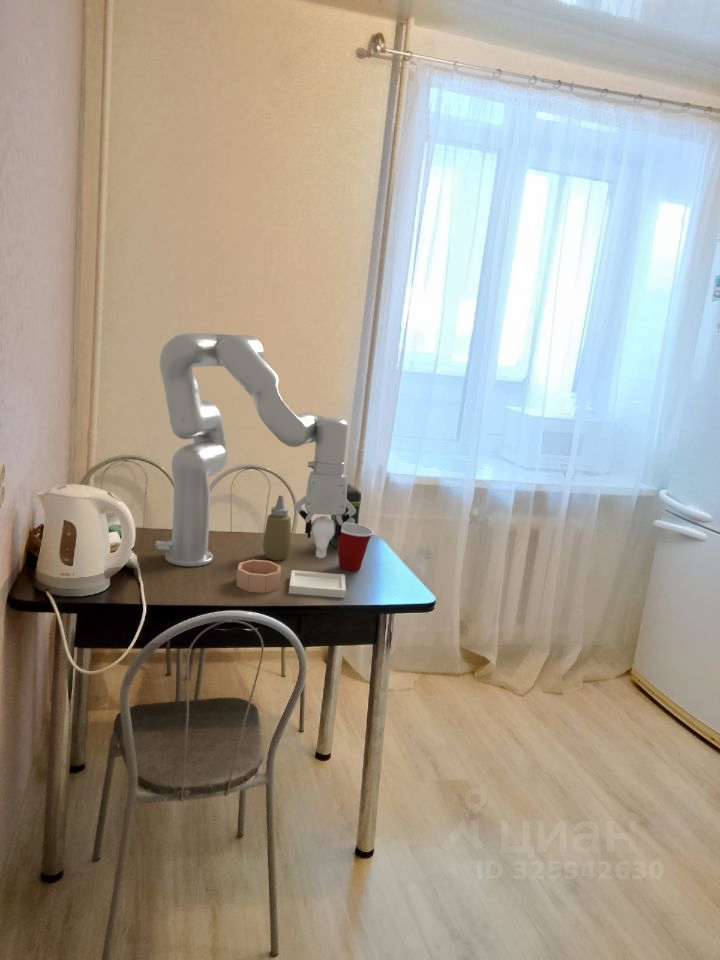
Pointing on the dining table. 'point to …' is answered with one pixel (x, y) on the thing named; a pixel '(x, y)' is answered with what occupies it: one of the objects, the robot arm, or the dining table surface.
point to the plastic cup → (352, 545)
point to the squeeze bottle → (277, 532)
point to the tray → (317, 584)
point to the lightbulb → (322, 534)
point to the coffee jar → (355, 500)
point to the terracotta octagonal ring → (258, 576)
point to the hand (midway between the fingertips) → (322, 536)
